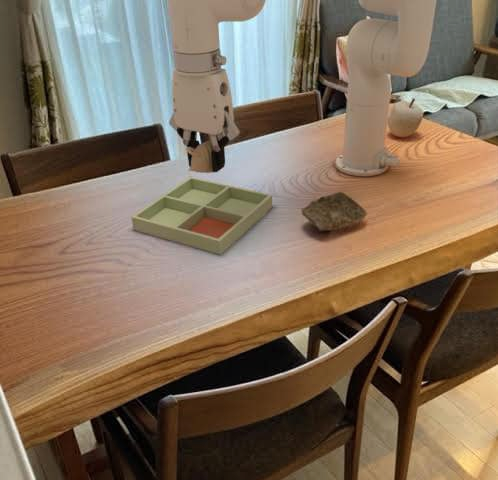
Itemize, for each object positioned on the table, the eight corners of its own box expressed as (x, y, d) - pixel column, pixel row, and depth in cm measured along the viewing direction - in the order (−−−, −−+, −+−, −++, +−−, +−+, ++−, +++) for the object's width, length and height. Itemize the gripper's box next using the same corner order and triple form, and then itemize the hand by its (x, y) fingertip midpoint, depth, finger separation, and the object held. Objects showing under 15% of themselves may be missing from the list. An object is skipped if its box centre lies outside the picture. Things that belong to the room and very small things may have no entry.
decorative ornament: (230, 166, 101) (228, 138, 98) (193, 179, 97) (190, 150, 94) (217, 160, 103) (215, 132, 100) (181, 172, 99) (177, 144, 96)
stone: (328, 238, 102) (312, 198, 101) (305, 247, 109) (290, 210, 108) (374, 218, 107) (359, 180, 107) (349, 228, 114) (335, 192, 114)
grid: (272, 207, 116) (272, 194, 114) (220, 254, 102) (219, 241, 100) (191, 188, 124) (190, 176, 122) (133, 229, 110) (131, 216, 109)
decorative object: (380, 132, 148) (385, 94, 141) (409, 128, 149) (415, 91, 143) (394, 144, 141) (400, 105, 135) (425, 140, 142) (432, 101, 136)
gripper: (253, 60, 87) (256, 167, 99) (169, 50, 94) (181, 152, 106) (229, 72, 82) (235, 183, 94) (142, 61, 89) (158, 166, 101)
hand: (206, 165), depth 100 cm, fingers closed on decorative ornament, 4 cm apart
